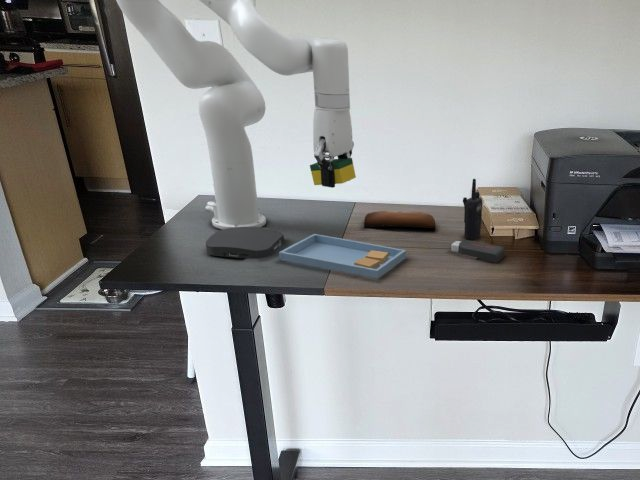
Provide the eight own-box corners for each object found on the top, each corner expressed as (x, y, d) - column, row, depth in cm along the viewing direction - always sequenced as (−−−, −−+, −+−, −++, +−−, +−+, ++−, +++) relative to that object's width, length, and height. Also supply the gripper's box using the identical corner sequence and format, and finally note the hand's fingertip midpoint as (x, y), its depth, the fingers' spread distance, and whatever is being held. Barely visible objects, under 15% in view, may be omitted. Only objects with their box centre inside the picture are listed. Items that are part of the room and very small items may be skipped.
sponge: (314, 185, 156) (309, 165, 154) (328, 179, 161) (323, 159, 159) (342, 183, 153) (338, 163, 151) (356, 177, 159) (352, 157, 157)
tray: (280, 262, 147) (279, 252, 146) (315, 243, 159) (314, 233, 158) (377, 281, 142) (377, 270, 140) (406, 260, 154) (406, 250, 152)
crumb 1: (354, 268, 145) (354, 262, 145) (364, 263, 149) (364, 257, 148) (370, 272, 144) (369, 266, 143) (380, 266, 147) (380, 260, 147)
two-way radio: (473, 241, 168) (476, 180, 161) (457, 238, 170) (459, 178, 162) (482, 235, 173) (485, 176, 165) (466, 232, 174) (469, 173, 167)
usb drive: (496, 263, 156) (497, 251, 155) (449, 253, 159) (449, 242, 158) (504, 256, 160) (505, 245, 159) (458, 247, 163) (458, 236, 162)
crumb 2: (365, 261, 149) (365, 255, 149) (371, 256, 153) (371, 250, 152) (382, 264, 149) (382, 258, 148) (388, 258, 152) (388, 252, 152)
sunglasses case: (433, 220, 179) (434, 202, 174) (434, 240, 176) (435, 223, 170) (364, 218, 177) (363, 200, 171) (364, 239, 173) (363, 221, 167)
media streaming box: (228, 235, 159) (226, 223, 158) (289, 240, 159) (288, 228, 158) (200, 256, 147) (198, 243, 145) (267, 262, 147) (265, 249, 145)
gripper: (337, 95, 157) (340, 173, 166) (295, 104, 142) (301, 189, 151) (366, 99, 155) (368, 177, 164) (327, 108, 141) (331, 194, 149)
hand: (336, 182), depth 157 cm, fingers closed on sponge, 6 cm apart
